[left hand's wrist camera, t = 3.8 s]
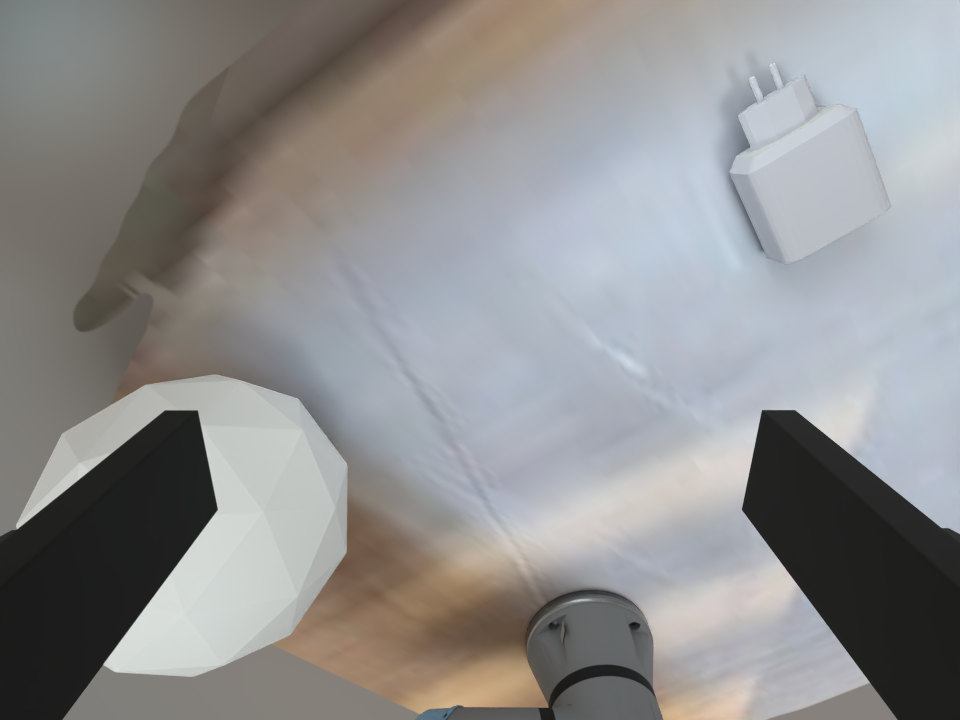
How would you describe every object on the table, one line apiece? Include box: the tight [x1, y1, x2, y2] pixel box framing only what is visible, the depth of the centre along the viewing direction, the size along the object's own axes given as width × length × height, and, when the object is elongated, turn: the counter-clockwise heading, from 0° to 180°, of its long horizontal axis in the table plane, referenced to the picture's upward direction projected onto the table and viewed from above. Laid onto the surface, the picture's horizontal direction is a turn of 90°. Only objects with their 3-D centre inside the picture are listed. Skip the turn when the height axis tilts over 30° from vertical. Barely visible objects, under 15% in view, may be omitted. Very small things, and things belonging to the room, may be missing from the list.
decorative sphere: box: [16, 374, 347, 677], centre depth 47 cm, size 24×25×25 cm
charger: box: [729, 63, 891, 264], centre depth 45 cm, size 5×9×15 cm
